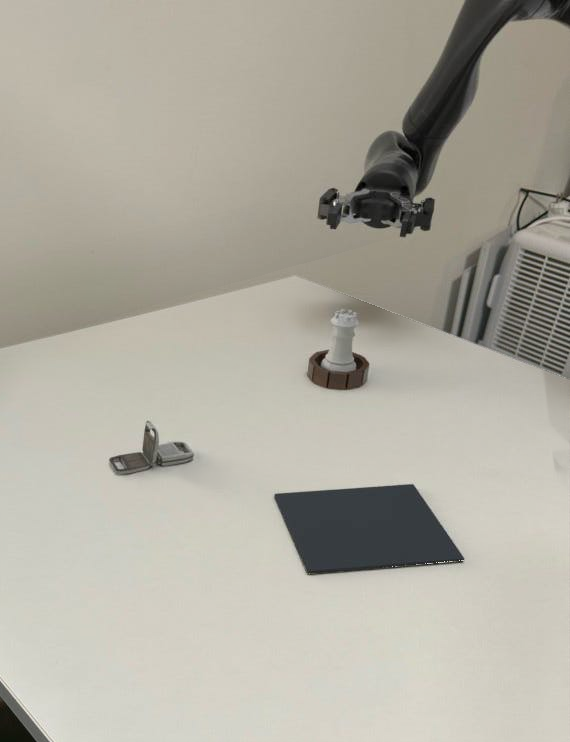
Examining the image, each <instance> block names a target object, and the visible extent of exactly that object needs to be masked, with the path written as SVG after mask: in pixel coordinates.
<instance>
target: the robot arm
mask: <svg viewBox="0 0 570 742" xmlns="http://www.w3.org/2000/svg"><path fill="white" fill-rule="evenodd" d="M533 20H547V21H548V20H550V21H554V22H556V23H558V24H560V25H562V26H563V27H566V29H569V30H570V0H464V1H463V4H462V6H461V8H460V11H459V12H458V14H457V16H456V19H455V20H454V23H453V26H452V29H451V31H450V34H449V35H448V38H447V40H446V42H445V45H444V47H443V50H442V51H441V54H440V56H439V57H438V59H437V62H436V63H435V66H434V68H433V69H432V71H431V72H430V74H429V76H428V77H427V79H426V80H425V83H424V84H423V85H422V87H421V88H420V90H419V91H418V93H417V95H415V97H414V99H413V100H412V102H411V104H410V105H409V107H408V108H407V110H406V112H405V113H404V116H403V118H402V121H401V130H402V133H401V132H398V131H396V130H385V131H384V132H382V133H380V134H379V135H378V136H376V137H375V139H374V140H373V141H372V142H371V144H370V145H369V147H368V149H367V152H366V154H365V158H364V162H363V173H364V174H363V175H362V177H361V179H360V180H359V182H358V183H357V185H356V187H355V189H354V191H352V192H349V193H346V194H345V195H340V191H339V189H338V188H335V187H331V188H328V189H327V190H326V191H325V192H324V194H322V195H321V196H320V197H319V201H318V209H317V217H316V218H317V219H318V220H321V221H324V220H326V221H325V224H326V225H327V226H329V229H330V230H337V229H338V227H339V225H340V223H341V222H344V223H347V224H353V223H360V222H361V223H363V225H366V226H367V227H370V228H372V229H377V230H380V229H388V228H391V227H393V228H394V229H400V232H399V237H400V238H406V237H407V235H411V234H413V233H414V231H415V230H416V228H417V227H419V229H420V231H423V232H428V231H430V230H431V226H432V219H433V215H434V212H435V204H436V203H435V202H436V200H435V198H433V197H425V198H424V199H423V200H421V201H420V203H418V202H414V198H416V197H418V196H419V195H422V194H423V192H424V191H425V190H426V189H427V188H428V186H429V185H430V183H431V181H432V180H433V179H432V178H433V177H434V173H435V170H436V169H437V165H438V162H439V158H440V155H441V152H442V150H443V148H444V146H445V144H446V142H447V141H448V139H449V137H450V136H451V135H452V133H453V132H454V130H455V129H456V128H457V127H458V125H459V124H460V123H461V121H462V119H463V118H464V117H465V115H466V114H467V112H468V111H469V109H470V108H471V106H472V105H473V102H474V101H475V97H476V95H477V91H478V88H479V81H480V74H481V71H480V70H481V62H482V59H483V56H484V53H485V52H486V50H487V49H488V47H489V45H490V44H491V43H492V41H493V40H494V39H495V38H496V37H497V36H498V34H499V33H500V32H501V31H502V30H503V29H504V28H505V27H506V26H507V25H508V24H509V23H510V22H522V21H533Z"/></svg>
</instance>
